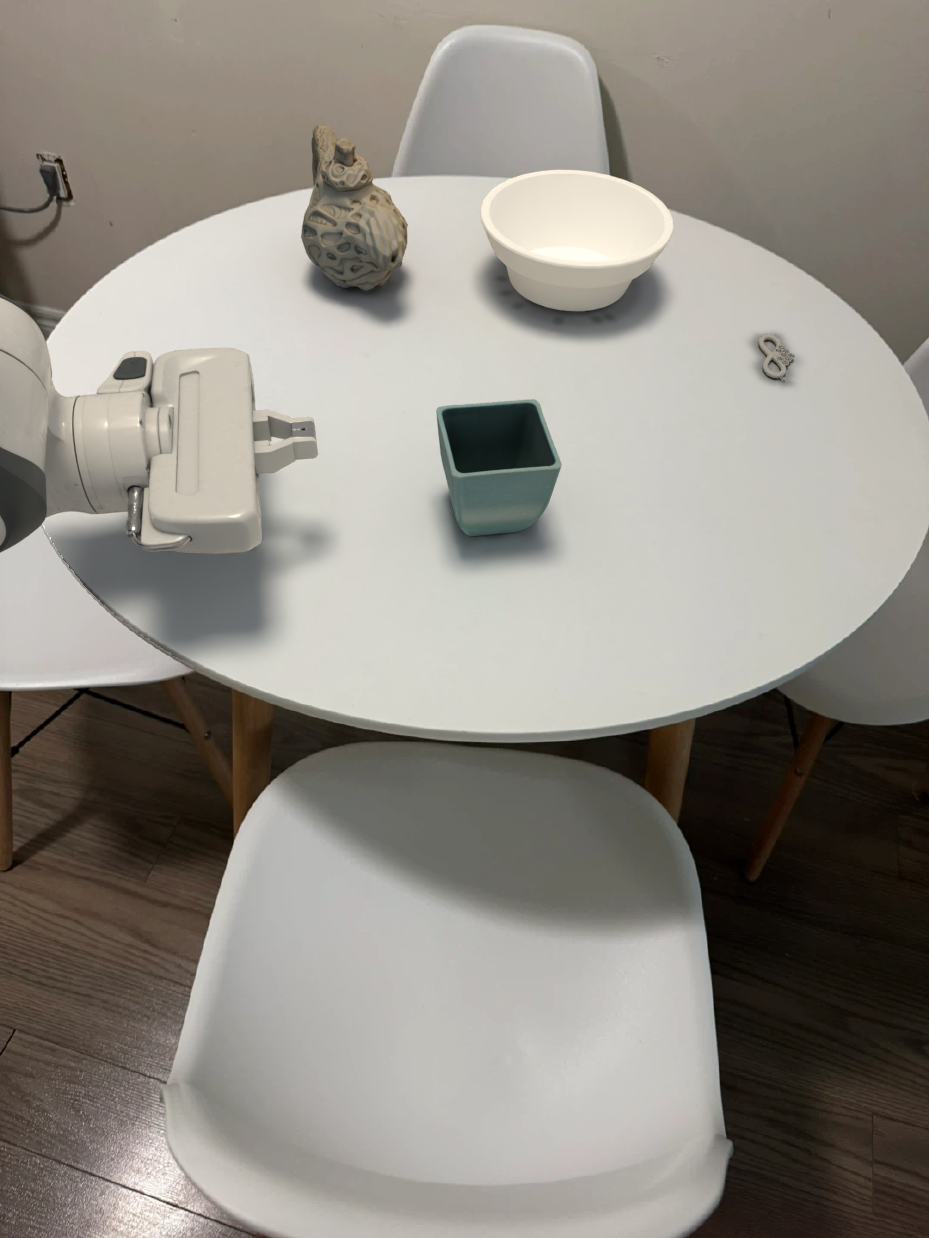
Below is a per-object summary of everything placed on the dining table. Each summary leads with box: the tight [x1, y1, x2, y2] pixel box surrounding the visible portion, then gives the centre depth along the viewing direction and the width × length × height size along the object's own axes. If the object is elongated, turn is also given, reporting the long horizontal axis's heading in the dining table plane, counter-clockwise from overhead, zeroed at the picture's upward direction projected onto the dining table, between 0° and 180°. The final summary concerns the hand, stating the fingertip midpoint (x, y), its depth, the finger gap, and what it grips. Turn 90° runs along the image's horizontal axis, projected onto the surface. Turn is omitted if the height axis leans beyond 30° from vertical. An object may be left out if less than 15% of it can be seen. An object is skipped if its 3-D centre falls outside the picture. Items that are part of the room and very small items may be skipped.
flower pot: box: [435, 398, 562, 537], centre depth 74 cm, size 9×9×9 cm
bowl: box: [479, 169, 674, 312], centre depth 98 cm, size 21×21×8 cm
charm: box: [758, 333, 796, 381], centre depth 93 cm, size 8×1×4 cm
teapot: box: [300, 124, 409, 292], centre depth 95 cm, size 21×12×15 cm, turn 26°
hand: (316, 437), depth 68 cm, fingers closed
